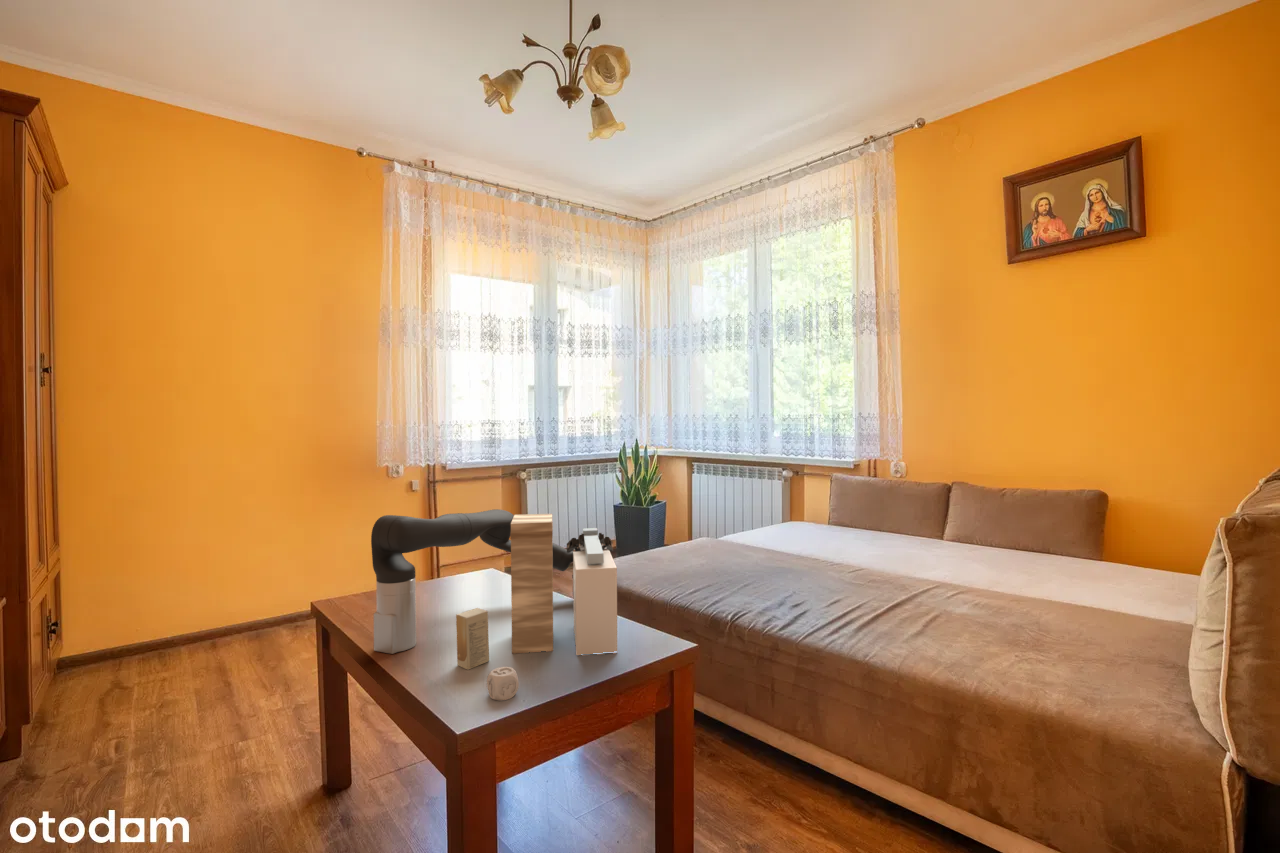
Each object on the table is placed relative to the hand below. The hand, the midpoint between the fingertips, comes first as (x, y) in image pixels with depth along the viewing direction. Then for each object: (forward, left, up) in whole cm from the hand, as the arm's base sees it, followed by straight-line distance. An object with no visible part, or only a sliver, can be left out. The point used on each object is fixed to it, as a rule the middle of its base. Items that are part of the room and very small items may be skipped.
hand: (591, 536), depth 164 cm
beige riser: (-8, -5, -25) cm, 27 cm away
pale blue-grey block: (-3, -2, -3) cm, 5 cm away
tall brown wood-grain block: (-15, +9, -25) cm, 31 cm away
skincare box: (-32, +15, -25) cm, 44 cm away
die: (-43, -1, -26) cm, 50 cm away
